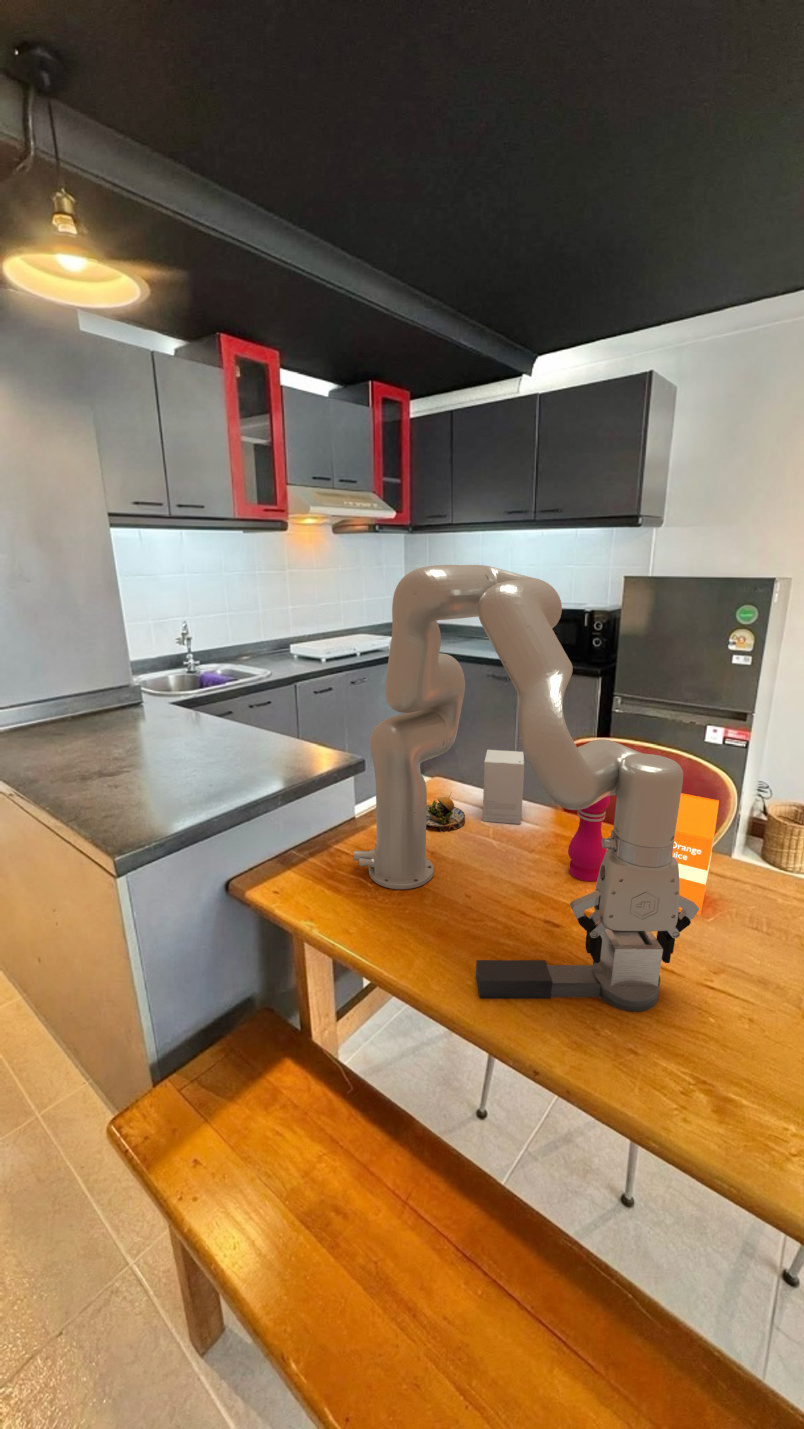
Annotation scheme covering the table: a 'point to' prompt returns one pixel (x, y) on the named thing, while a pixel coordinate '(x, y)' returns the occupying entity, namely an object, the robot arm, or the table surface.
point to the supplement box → (503, 786)
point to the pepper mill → (588, 842)
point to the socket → (631, 960)
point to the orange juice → (694, 844)
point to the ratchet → (561, 981)
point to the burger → (444, 815)
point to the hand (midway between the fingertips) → (627, 956)
